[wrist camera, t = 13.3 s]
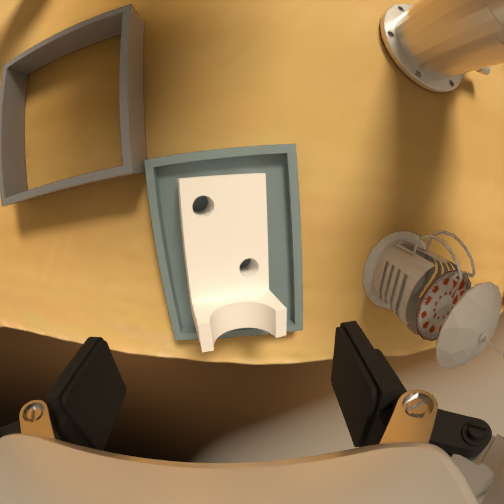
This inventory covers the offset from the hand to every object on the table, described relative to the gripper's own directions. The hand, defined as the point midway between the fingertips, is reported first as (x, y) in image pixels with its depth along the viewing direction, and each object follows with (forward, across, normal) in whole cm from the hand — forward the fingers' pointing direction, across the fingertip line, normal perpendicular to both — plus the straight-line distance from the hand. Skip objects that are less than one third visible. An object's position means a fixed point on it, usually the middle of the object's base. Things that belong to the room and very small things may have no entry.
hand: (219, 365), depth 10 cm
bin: (+18, +16, -17) cm, 30 cm away
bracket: (+18, 0, 0) cm, 18 cm away
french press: (+19, -18, +4) cm, 27 cm away
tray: (+18, 0, 0) cm, 19 cm away
